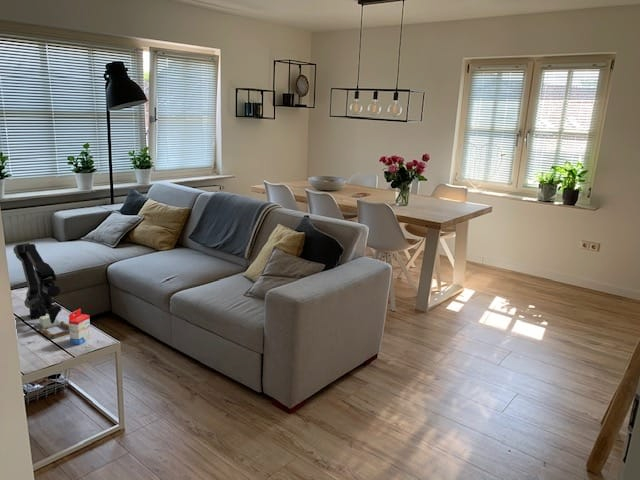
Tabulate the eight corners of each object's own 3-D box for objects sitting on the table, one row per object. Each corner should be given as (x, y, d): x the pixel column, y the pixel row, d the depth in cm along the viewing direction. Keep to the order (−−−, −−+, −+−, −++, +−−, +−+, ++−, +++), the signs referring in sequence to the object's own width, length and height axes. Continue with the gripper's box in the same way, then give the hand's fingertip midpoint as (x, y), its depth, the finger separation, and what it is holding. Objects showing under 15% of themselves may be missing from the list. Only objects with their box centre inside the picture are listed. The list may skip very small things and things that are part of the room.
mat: (34, 325, 246) (34, 324, 246) (55, 319, 254) (55, 319, 254) (41, 330, 241) (41, 329, 241) (62, 324, 249) (62, 323, 249)
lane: (39, 331, 240) (39, 327, 240) (62, 324, 249) (62, 321, 248) (51, 339, 233) (51, 335, 232) (75, 332, 241) (75, 328, 240)
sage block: (40, 324, 246) (39, 317, 245) (52, 321, 251) (52, 313, 250) (43, 326, 244) (43, 319, 243) (56, 323, 249) (55, 316, 248)
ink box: (79, 345, 228) (77, 315, 225) (69, 343, 229) (67, 314, 226) (91, 337, 236) (89, 309, 233) (82, 336, 237) (80, 307, 234)
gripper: (19, 290, 243) (22, 319, 246) (36, 300, 231) (39, 331, 235) (43, 285, 251) (46, 313, 255) (60, 294, 240) (63, 324, 244)
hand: (48, 320), depth 247 cm, fingers open, 9 cm apart
